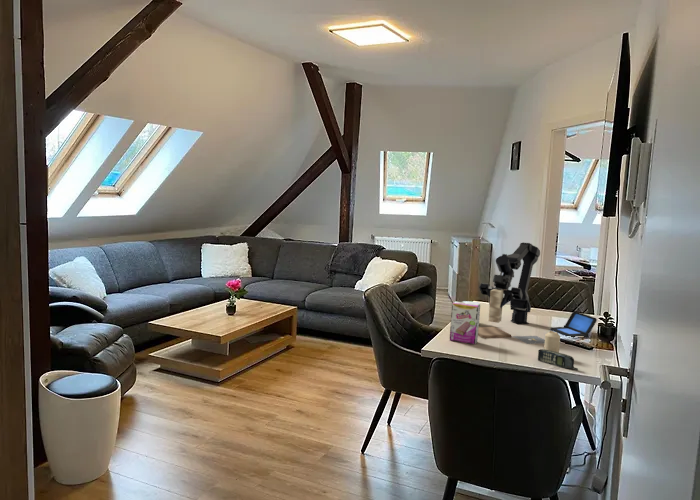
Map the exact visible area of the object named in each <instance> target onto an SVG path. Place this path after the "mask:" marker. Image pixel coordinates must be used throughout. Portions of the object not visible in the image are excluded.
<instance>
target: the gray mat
mask: <svg viewBox="0 0 700 500" xmlns="http://www.w3.org/2000/svg"><path fill="white" fill-rule="evenodd" d="M512 338H514V339H517V340H519V341H521V342H523V343H525V344H526V345H530V344H531V345H533V344H535V345H536V344H545V338H542V337H539V336H538V335H516V336H515V335H514V336H512Z"/></svg>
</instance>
